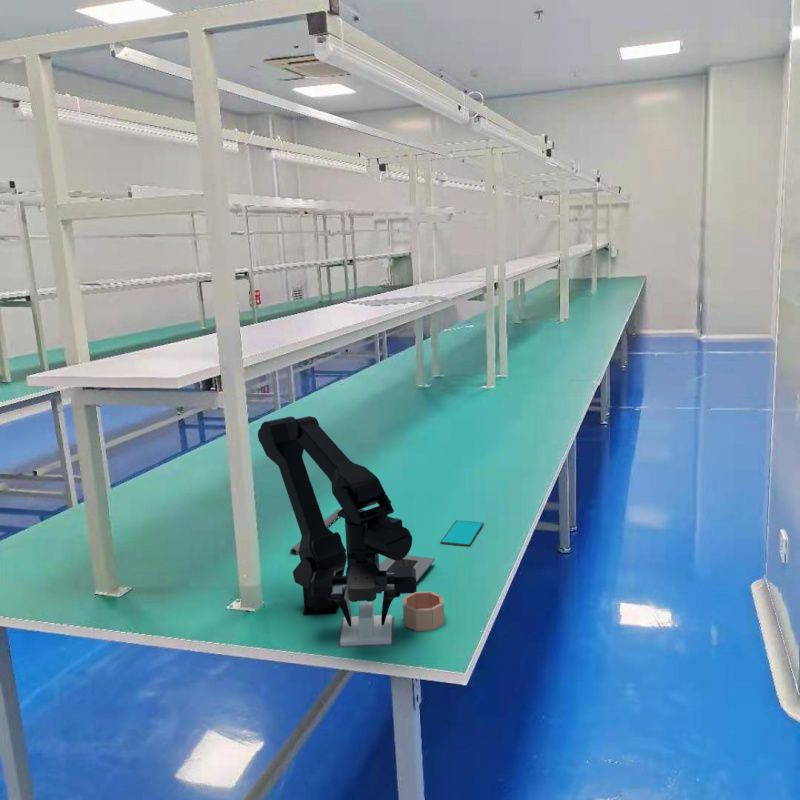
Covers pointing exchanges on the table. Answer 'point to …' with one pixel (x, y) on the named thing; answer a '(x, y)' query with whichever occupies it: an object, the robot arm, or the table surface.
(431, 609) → the bowl
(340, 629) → the mat
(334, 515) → the metal rod
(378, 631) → the lid
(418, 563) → the electrical outlet
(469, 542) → the smartphone
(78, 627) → the table surface
